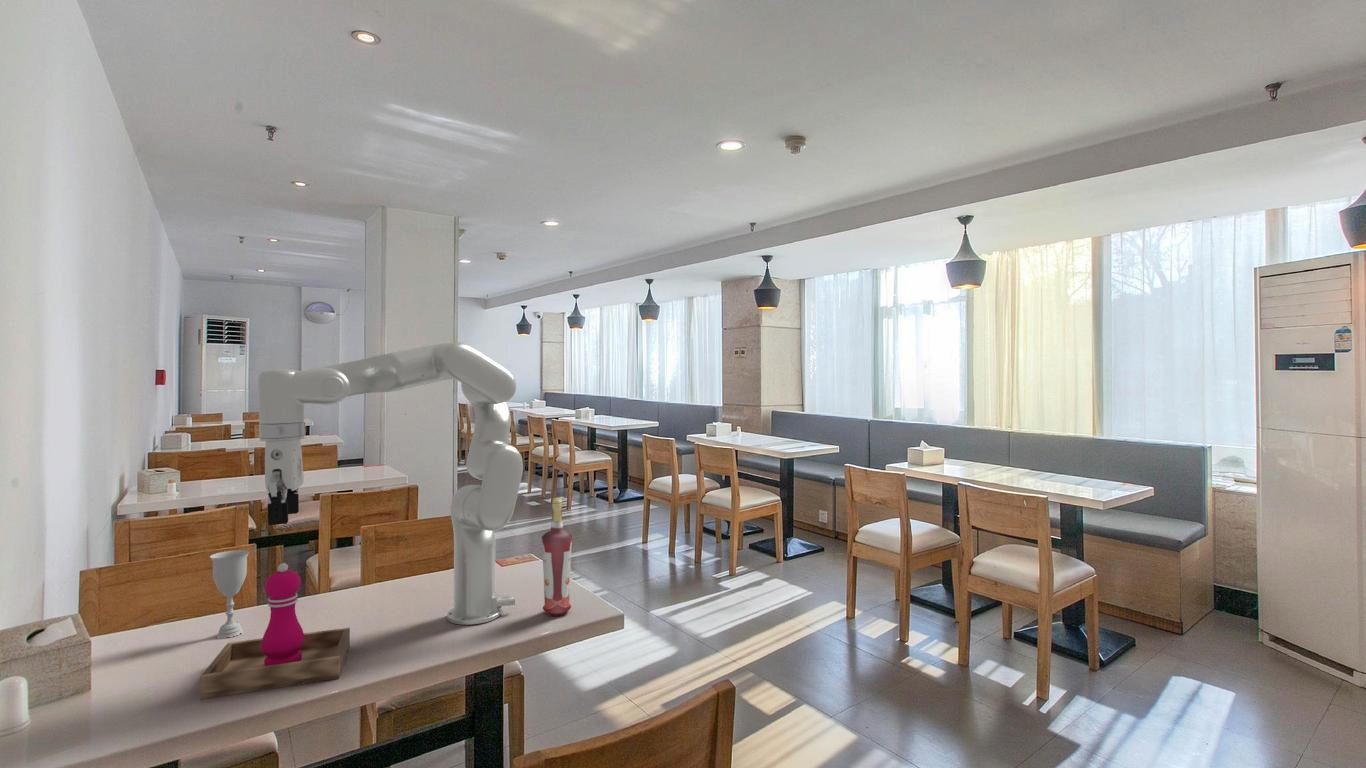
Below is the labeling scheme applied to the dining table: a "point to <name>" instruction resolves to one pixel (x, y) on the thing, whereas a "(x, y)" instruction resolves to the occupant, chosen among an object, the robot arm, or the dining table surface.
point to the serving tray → (247, 673)
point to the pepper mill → (282, 619)
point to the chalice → (229, 584)
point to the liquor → (556, 563)
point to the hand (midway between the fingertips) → (284, 518)
